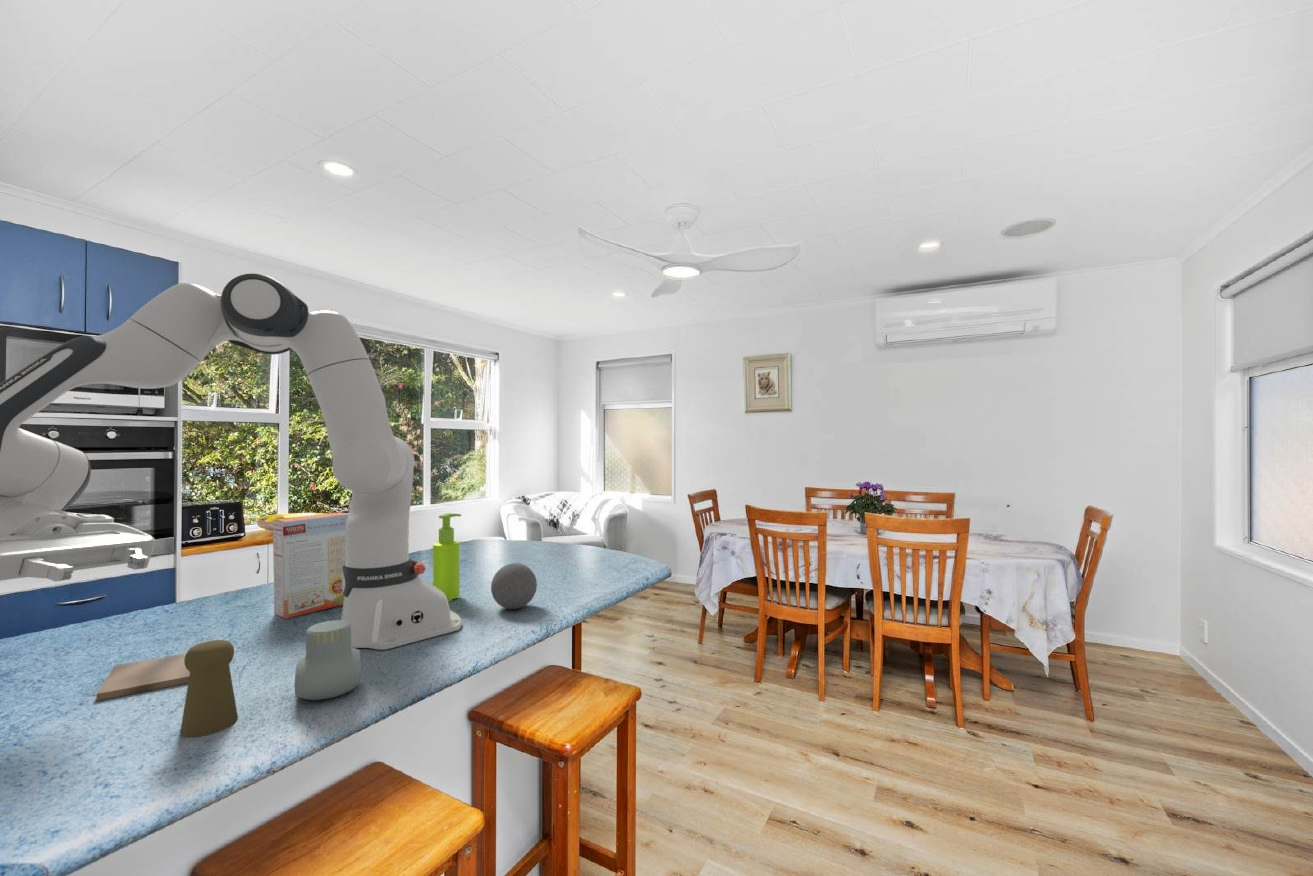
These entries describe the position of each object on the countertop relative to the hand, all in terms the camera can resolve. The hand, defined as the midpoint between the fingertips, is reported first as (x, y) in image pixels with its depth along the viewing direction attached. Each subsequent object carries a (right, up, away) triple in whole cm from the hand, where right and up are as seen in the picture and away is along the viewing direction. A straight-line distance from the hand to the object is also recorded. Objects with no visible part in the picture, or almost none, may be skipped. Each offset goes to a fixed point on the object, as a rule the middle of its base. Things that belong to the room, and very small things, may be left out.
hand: (106, 569), depth 78 cm
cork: (+17, -20, -4) cm, 27 cm away
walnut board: (-3, -20, +11) cm, 23 cm away
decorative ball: (+45, -20, +47) cm, 68 cm away
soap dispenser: (+27, -20, +55) cm, 65 cm away
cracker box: (+1, -20, +46) cm, 50 cm away
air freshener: (+28, -20, +6) cm, 35 cm away
